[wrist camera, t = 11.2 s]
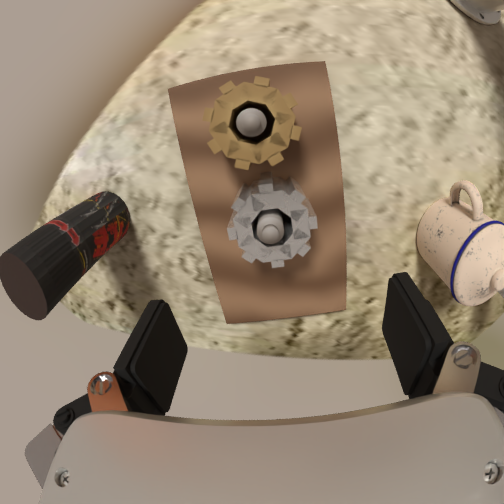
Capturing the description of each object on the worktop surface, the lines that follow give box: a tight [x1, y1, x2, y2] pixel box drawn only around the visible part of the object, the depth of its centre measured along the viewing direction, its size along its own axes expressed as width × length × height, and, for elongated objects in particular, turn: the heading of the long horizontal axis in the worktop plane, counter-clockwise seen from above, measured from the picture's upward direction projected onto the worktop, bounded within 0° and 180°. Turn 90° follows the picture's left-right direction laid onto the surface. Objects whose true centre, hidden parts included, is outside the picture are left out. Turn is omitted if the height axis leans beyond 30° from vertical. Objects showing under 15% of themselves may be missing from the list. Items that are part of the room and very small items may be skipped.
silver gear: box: [227, 172, 318, 268], centre depth 23 cm, size 7×7×5 cm
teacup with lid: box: [417, 180, 504, 306], centre depth 20 cm, size 12×9×12 cm
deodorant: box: [0, 192, 130, 320], centre depth 21 cm, size 6×6×15 cm
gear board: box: [168, 61, 347, 324], centre depth 23 cm, size 26×14×8 cm, turn 10°
